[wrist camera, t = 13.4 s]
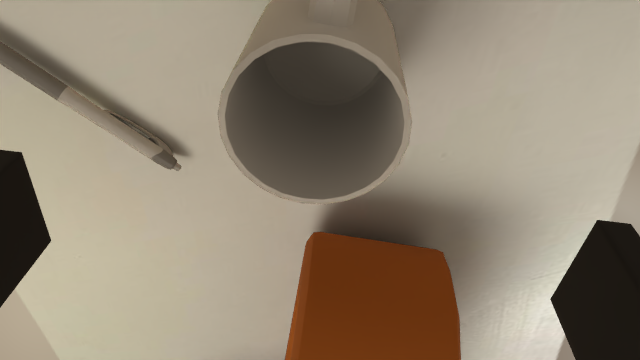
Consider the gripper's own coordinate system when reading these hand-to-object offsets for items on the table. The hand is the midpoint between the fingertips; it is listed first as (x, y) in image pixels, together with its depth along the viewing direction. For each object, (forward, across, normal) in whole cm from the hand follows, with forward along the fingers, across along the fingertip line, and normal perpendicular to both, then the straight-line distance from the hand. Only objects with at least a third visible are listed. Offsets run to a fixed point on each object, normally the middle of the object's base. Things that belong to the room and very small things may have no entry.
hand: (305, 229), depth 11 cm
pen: (+16, -14, -6) cm, 22 cm away
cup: (+16, 0, 0) cm, 16 cm away
